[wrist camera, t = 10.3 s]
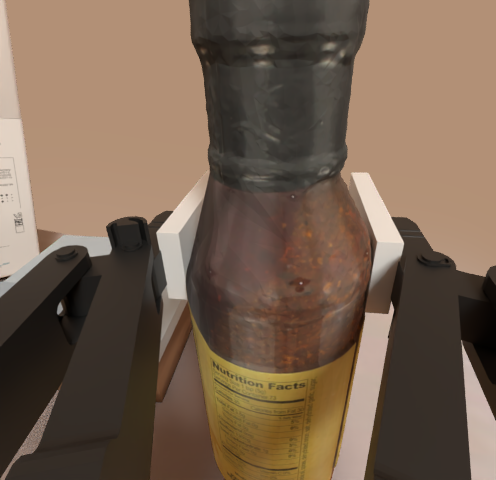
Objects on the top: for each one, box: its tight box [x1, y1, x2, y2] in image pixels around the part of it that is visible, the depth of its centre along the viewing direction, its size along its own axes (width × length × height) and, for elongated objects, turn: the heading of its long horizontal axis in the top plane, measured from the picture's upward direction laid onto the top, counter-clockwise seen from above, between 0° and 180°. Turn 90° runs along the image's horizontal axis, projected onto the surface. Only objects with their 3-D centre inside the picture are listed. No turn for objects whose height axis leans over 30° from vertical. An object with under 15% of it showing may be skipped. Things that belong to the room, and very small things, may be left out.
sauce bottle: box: [186, 0, 372, 480], centre depth 13 cm, size 7×6×20 cm
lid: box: [0, 235, 188, 362], centre depth 26 cm, size 15×13×4 cm
